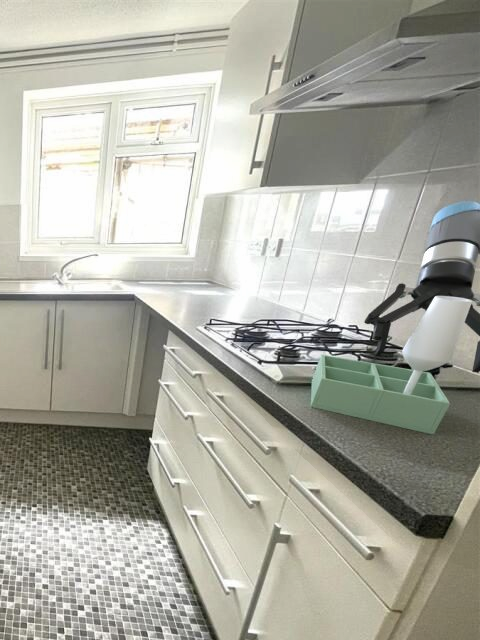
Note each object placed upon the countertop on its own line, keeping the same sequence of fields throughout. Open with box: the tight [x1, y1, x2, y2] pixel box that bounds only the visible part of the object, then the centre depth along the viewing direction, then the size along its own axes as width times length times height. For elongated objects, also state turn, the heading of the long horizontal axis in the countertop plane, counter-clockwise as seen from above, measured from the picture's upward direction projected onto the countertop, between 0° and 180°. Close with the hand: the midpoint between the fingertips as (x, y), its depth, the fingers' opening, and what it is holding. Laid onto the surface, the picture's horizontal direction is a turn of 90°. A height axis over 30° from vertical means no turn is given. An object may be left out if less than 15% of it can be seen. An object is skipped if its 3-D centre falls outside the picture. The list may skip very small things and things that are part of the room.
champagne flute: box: [401, 296, 473, 395], centre depth 82 cm, size 7×7×24 cm
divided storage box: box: [310, 354, 451, 436], centre depth 91 cm, size 19×19×7 cm
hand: (426, 361), depth 80 cm, fingers open, 13 cm apart
